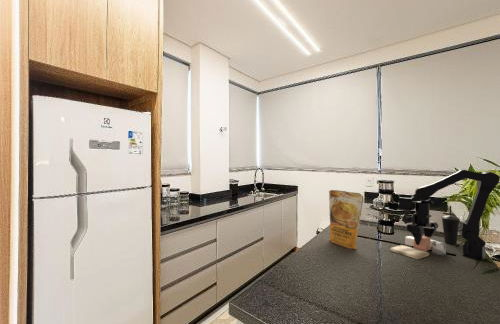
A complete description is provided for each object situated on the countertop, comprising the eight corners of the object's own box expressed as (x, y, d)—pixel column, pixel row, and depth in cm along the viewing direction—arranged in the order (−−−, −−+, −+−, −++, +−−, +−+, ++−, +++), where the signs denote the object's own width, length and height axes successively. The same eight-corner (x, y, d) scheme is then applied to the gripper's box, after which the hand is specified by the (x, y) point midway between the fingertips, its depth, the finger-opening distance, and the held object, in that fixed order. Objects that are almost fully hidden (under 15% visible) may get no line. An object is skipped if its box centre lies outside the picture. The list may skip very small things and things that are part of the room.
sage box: (439, 247, 119) (439, 241, 119) (436, 248, 118) (435, 242, 118) (426, 243, 124) (426, 238, 125) (423, 244, 123) (423, 239, 123)
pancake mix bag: (332, 238, 132) (332, 189, 133) (364, 249, 116) (364, 192, 116) (324, 240, 129) (324, 189, 129) (355, 251, 112) (355, 193, 113)
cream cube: (417, 245, 121) (417, 238, 121) (413, 247, 119) (413, 239, 119) (409, 243, 125) (409, 235, 125) (405, 244, 123) (405, 237, 123)
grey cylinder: (447, 254, 110) (447, 243, 110) (442, 256, 107) (442, 245, 107) (435, 250, 114) (435, 240, 114) (430, 252, 112) (430, 242, 112)
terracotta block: (430, 249, 116) (430, 237, 116) (425, 251, 113) (425, 238, 113) (419, 246, 120) (419, 234, 120) (414, 248, 118) (414, 236, 118)
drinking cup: (464, 245, 121) (463, 207, 122) (449, 245, 122) (449, 207, 122) (451, 240, 129) (451, 204, 129) (437, 240, 129) (437, 204, 129)
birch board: (429, 255, 108) (429, 252, 108) (417, 259, 103) (417, 256, 103) (401, 247, 119) (401, 244, 119) (390, 250, 114) (390, 248, 114)
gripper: (414, 208, 129) (414, 236, 128) (395, 211, 120) (395, 241, 119) (438, 211, 119) (438, 242, 119) (419, 215, 110) (419, 248, 110)
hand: (422, 243), depth 117 cm, fingers open, 9 cm apart
